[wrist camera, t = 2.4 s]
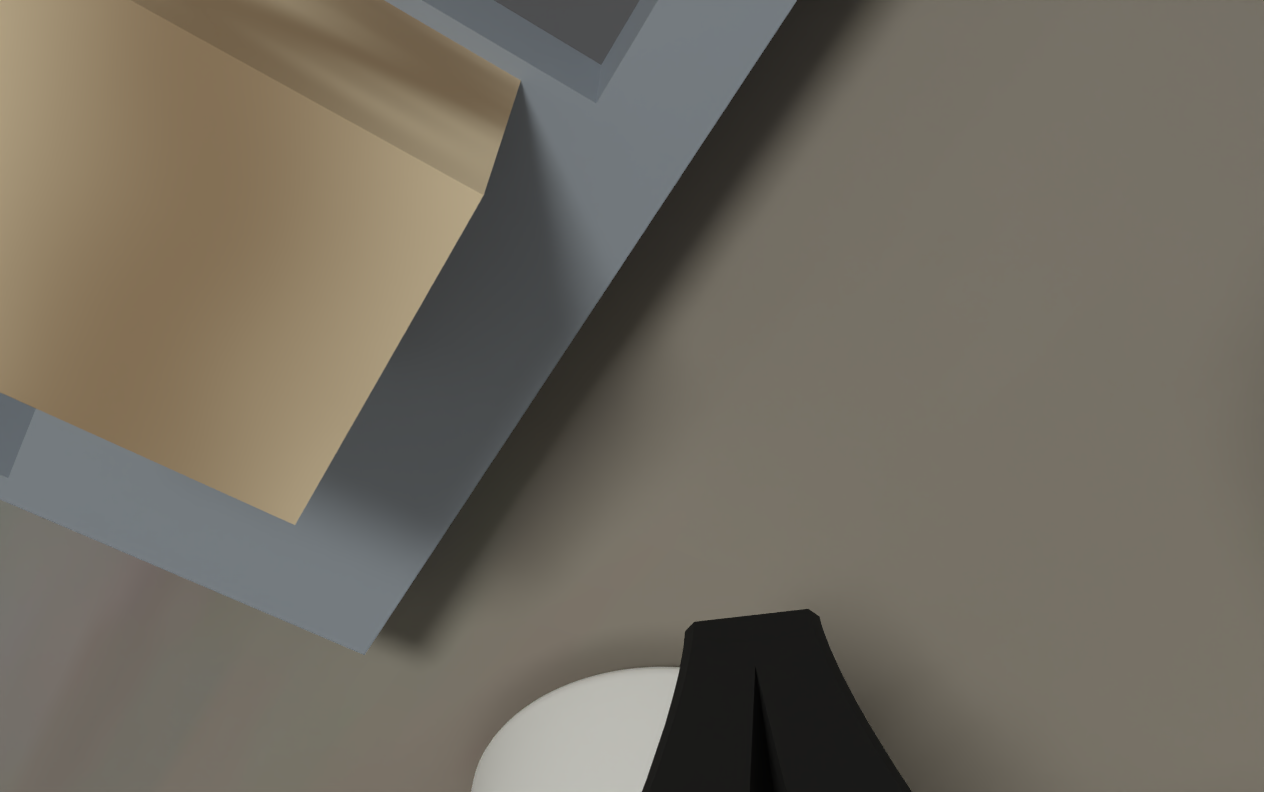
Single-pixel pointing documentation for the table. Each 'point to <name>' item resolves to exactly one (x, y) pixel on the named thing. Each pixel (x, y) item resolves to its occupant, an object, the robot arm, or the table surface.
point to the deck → (441, 318)
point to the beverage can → (582, 736)
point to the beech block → (228, 219)
